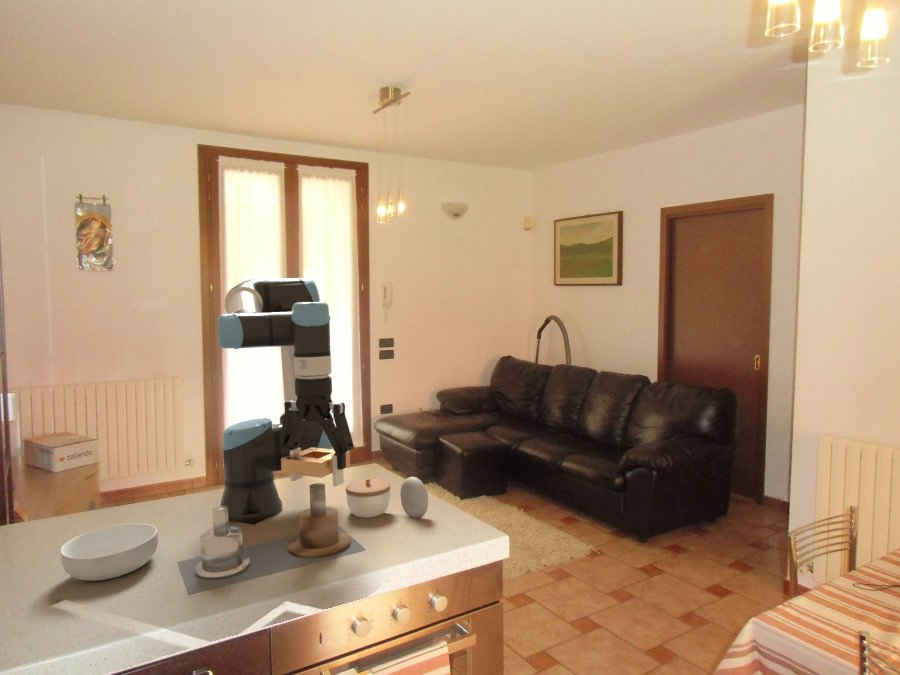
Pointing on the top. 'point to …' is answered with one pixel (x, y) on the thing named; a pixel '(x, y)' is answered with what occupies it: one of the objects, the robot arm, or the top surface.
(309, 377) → the robot arm
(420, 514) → the grey piece
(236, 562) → the pale stepped hub
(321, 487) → the walnut hub
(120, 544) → the cereal bowl
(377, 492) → the lidded jar
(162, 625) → the top surface
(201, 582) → the rubber mat
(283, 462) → the wooden square ring
